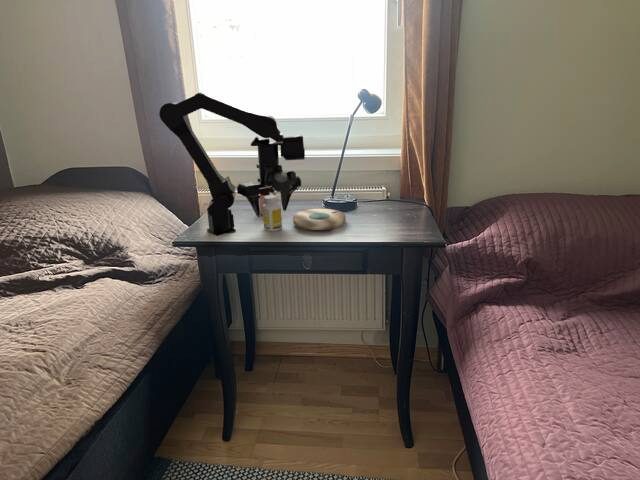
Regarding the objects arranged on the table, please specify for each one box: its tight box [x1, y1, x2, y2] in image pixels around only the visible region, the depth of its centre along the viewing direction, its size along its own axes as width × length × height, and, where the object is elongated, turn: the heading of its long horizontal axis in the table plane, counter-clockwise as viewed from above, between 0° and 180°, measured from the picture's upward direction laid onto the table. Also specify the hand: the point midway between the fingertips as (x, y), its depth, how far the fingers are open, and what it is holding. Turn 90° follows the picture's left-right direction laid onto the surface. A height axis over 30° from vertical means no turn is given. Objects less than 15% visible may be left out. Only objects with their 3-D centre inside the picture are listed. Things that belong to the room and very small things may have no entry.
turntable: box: [292, 208, 347, 231], centre depth 140 cm, size 16×16×2 cm
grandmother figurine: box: [258, 185, 277, 216], centre depth 151 cm, size 8×4×13 cm, turn 129°
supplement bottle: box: [262, 194, 283, 232], centre depth 136 cm, size 5×5×10 cm
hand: (271, 213), depth 136 cm, fingers open, 9 cm apart
